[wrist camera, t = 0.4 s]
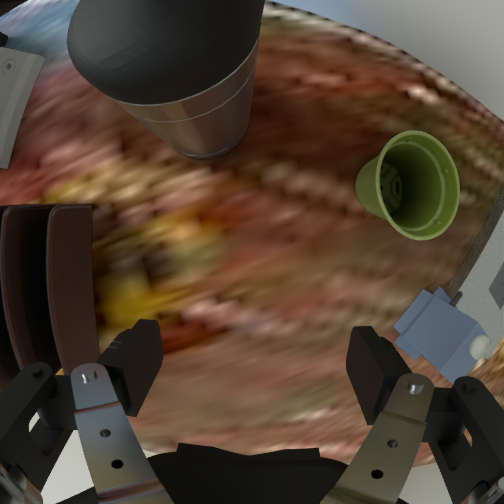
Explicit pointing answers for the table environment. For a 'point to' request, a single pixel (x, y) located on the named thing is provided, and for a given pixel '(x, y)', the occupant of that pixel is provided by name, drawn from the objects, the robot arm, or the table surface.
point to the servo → (442, 334)
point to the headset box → (2, 39)
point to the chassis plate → (484, 277)
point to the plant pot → (411, 185)
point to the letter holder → (46, 288)
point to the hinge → (15, 94)
